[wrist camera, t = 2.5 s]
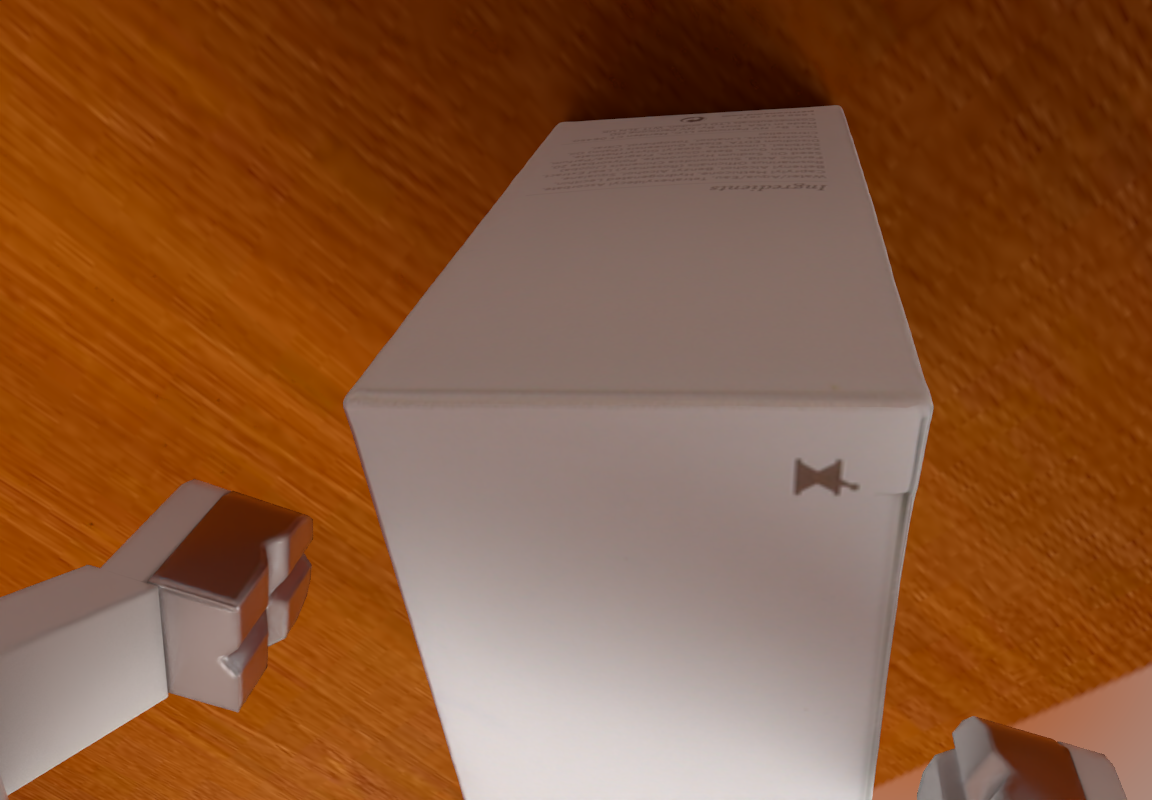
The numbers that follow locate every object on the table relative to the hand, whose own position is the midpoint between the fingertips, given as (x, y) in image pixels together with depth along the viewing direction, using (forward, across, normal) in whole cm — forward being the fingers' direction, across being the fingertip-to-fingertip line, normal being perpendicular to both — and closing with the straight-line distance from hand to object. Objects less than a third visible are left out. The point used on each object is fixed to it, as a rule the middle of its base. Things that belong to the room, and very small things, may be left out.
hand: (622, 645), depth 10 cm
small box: (+10, 0, 0) cm, 10 cm away
